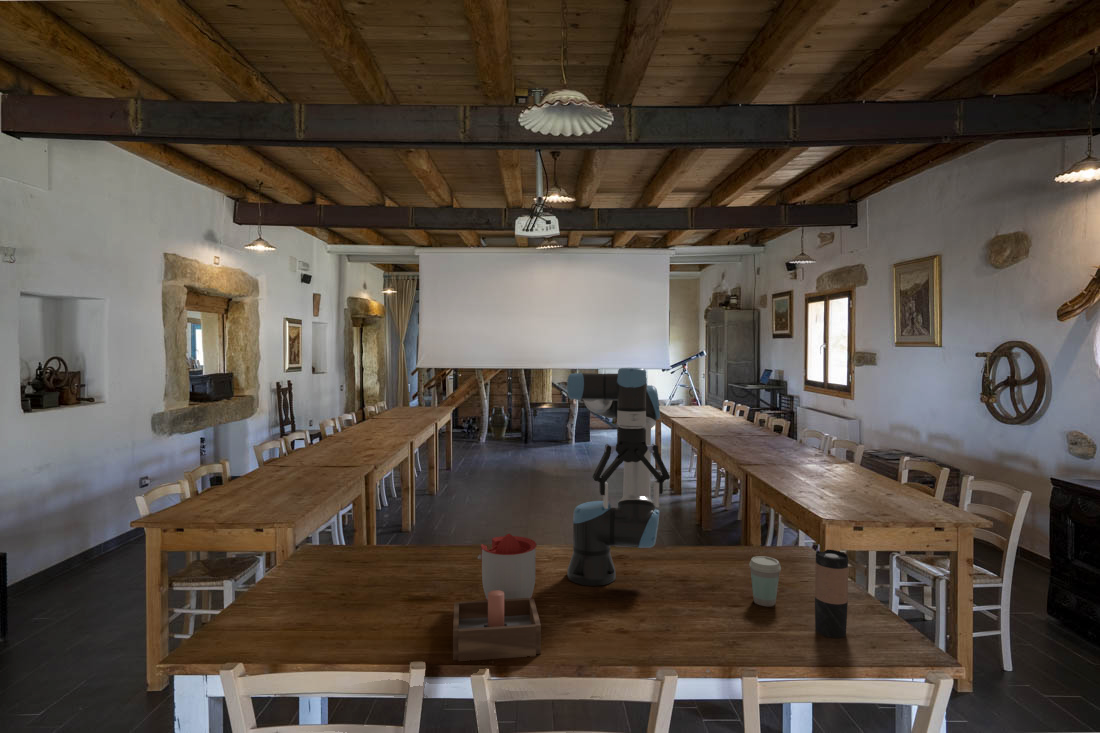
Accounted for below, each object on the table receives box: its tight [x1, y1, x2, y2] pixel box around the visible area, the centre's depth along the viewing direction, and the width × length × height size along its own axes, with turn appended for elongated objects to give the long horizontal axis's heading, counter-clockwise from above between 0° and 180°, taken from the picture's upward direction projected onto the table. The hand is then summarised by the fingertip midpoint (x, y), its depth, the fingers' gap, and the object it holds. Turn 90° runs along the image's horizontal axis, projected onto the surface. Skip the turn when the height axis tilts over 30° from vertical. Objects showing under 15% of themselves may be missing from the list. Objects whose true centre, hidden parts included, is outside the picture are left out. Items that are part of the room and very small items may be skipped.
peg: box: [488, 590, 504, 627], centre depth 147 cm, size 4×4×12 cm
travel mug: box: [814, 549, 849, 639], centre depth 153 cm, size 8×8×20 cm
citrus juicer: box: [477, 533, 537, 600], centre depth 170 cm, size 16×17×20 cm
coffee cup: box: [748, 555, 782, 607], centre depth 171 cm, size 8×9×12 cm
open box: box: [452, 598, 542, 662], centre depth 148 cm, size 16×20×7 cm
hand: (631, 506), depth 159 cm, fingers open, 13 cm apart
